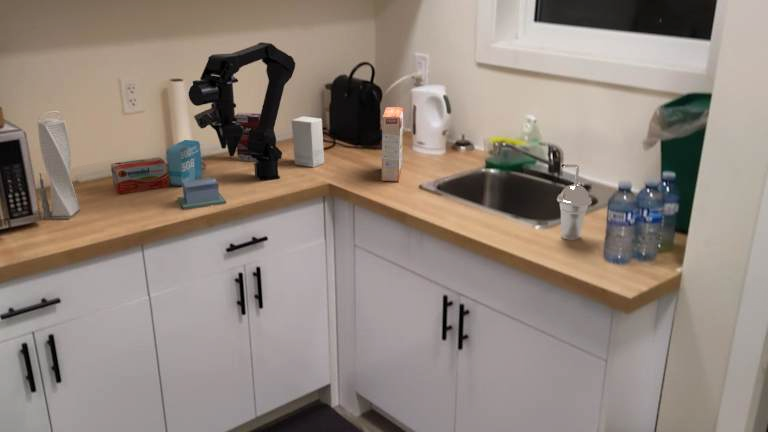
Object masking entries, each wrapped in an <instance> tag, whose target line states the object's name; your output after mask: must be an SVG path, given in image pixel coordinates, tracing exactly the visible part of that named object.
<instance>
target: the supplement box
mask: <svg viewBox="0 0 768 432" xmlns="http://www.w3.org/2000/svg"><path fill="white" fill-rule="evenodd" d="M260 115H261V113H250V112H238V113H237V114H235V117H236V118H237V122H238V123H239V124H241V125H242V126H243V127H244V134H243V136H242V137H241V139H240V141H239V144H238V146H237V149H236V152H237V153H236V154H237V161H239V162H240V161H242V162H254V163H256V158H252V157H251V154H250V152H249V150H248V148H247V143H248V142H246V141H247V139H248V136H249V131H250V130H251V129H252V130H254V129H255V128H256V127H257V126H258V124H259V119H260Z"/></svg>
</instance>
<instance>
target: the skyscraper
mask: <svg viewBox="0 0 768 432" xmlns="http://www.w3.org/2000/svg"><path fill="white" fill-rule="evenodd" d="M52 113H56V117H55V118H53V117H52V118H51V117H50V118H46V119H44V121H41V120H42V119H43V117H45V116H47V115H49V114H52ZM59 117H60V111H59V110H51V111H50V110H49V111H47V112H45V113H43V114H41V115H40V117H39V118H38V121H37V131H38V141H39V147H40V148H39V150H40V154H41V157H42V158H41V159H42V161H43V165H44V168H45V171H46V173H47V175H48V176H47V177H48V178H49V181H50V184H49V185H50V186H49V187H50V200H51V201H50V203H51V204H49V200H48V196H47V188H45V185H44V179H43V178H42V173H39V174H38V175H39V184H40V189H39V192H40V196H41V202H42V203H41V207H42V210H43V217H42V220H51V221H52V220H54V221H55V220H56V221H57V220H58V221H69V220H71V219H72V218H73V217H74V216H75V215H77V214H78V213H79V212H80V211H81V209H80V205H79V202H78V198H77V195H76V191H75V188H74V185H73V182H72V178H71V176H70V174H71V165H72V152H71V144H70V138H69V132H68V128H67V124H66V121H65V120H59ZM50 205H51V211H50Z"/></svg>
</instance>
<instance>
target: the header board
mask: <svg viewBox="0 0 768 432" xmlns="http://www.w3.org/2000/svg"><path fill="white" fill-rule="evenodd" d="M176 199H177V201H178V203H179V205H180V207H181V208H182V209H183V211H185V210H192V209H199V208H204V207H212V206H211V205H213V206H219V205H226V204H227V200H226V199H225V197H224V196H223V194H221V192H219V200H213V201H207V202H200V203H193V204H187V200H186V199H184V196H178V197H176Z"/></svg>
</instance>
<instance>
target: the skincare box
mask: <svg viewBox="0 0 768 432" xmlns="http://www.w3.org/2000/svg"><path fill="white" fill-rule="evenodd" d="M291 130H292V140H293V141H292V142H293V143H292V144H293V154H294V165H297V166H303V167H308V168H316V167H319V166H321V165H322V164H325V155H324V152H325V151H324V139H323V120H322V118H320V117H311V116H305V115H304V116H303V115H302V116H300V117H297V118H294V119H292V120H291Z"/></svg>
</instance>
